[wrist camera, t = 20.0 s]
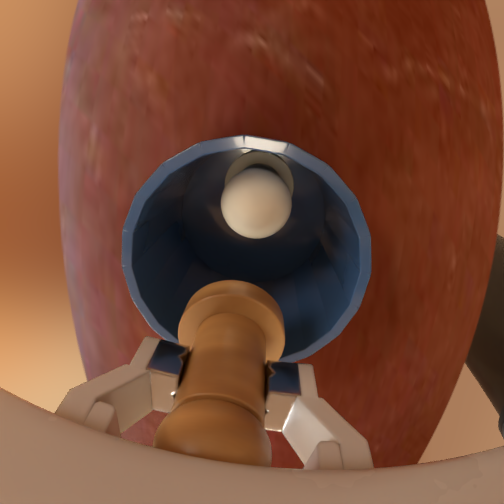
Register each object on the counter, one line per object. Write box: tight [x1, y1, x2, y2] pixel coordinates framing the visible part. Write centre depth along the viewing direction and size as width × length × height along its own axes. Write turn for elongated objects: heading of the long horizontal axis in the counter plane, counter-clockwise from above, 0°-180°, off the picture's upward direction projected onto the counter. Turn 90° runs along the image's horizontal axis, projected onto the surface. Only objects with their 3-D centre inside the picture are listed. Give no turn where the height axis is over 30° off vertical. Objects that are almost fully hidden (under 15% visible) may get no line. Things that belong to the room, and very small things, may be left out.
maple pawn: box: [153, 280, 285, 467], centre depth 9 cm, size 4×4×8 cm
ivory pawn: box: [221, 150, 294, 239], centre depth 16 cm, size 4×4×8 cm
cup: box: [122, 135, 371, 363], centre depth 17 cm, size 10×10×9 cm
